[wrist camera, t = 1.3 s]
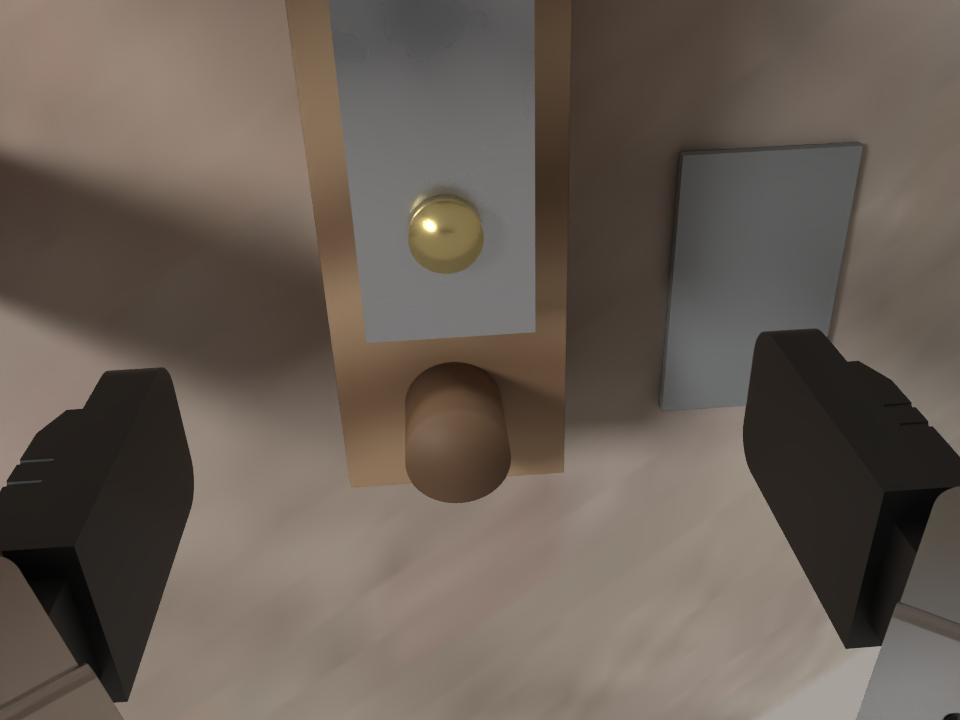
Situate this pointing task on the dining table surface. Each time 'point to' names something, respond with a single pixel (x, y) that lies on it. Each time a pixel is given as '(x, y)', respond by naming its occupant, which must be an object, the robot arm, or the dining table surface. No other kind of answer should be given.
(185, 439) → the robot arm
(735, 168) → the mat
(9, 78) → the dining table surface
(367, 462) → the plane body
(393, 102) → the lever cap
